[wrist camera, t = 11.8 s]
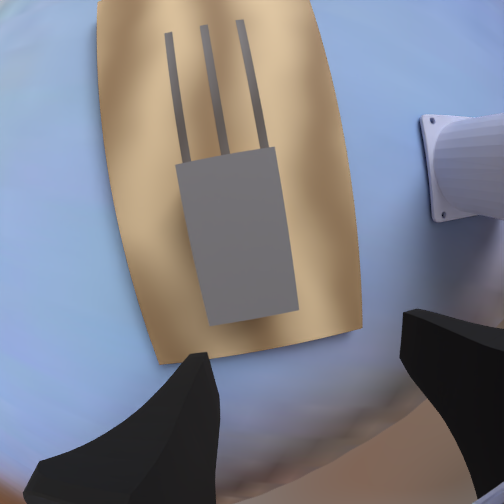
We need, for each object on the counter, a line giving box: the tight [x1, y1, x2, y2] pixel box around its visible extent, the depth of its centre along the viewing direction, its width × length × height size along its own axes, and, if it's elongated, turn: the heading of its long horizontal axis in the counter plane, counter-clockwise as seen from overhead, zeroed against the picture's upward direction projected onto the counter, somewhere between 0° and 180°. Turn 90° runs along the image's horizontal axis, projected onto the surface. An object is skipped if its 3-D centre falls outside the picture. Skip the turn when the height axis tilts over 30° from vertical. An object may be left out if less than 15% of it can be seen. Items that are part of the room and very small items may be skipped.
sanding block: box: [175, 147, 299, 326], centre depth 15 cm, size 4×7×5 cm, turn 10°
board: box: [97, 0, 362, 365], centre depth 17 cm, size 14×26×2 cm, turn 10°
